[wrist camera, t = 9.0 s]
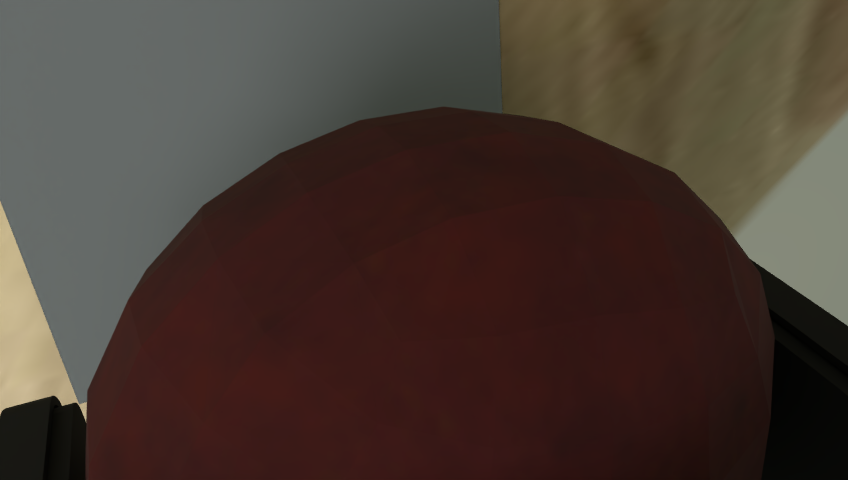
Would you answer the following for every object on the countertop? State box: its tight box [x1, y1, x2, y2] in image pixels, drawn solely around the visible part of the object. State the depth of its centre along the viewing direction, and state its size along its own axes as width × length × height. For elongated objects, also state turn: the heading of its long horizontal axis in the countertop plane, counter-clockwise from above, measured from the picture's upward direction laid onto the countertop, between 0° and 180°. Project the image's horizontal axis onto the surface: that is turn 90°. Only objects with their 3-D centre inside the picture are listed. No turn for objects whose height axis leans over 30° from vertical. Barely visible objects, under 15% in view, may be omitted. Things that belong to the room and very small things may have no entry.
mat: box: [0, 0, 502, 404], centre depth 19 cm, size 12×12×1 cm
